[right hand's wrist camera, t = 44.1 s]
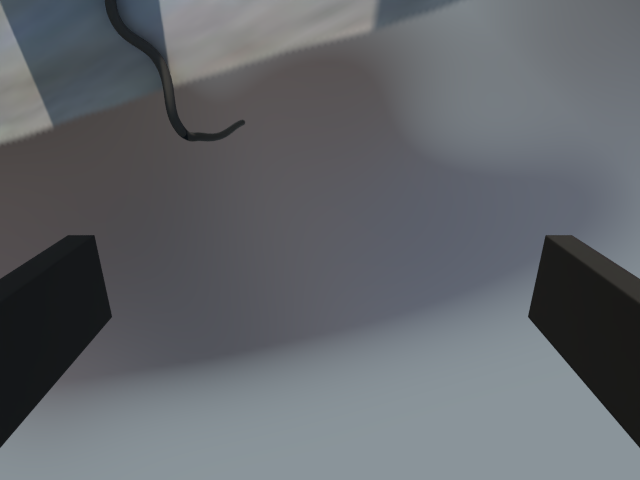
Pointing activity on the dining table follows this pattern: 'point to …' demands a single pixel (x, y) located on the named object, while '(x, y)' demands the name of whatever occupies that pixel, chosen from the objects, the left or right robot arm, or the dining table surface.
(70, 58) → the dining table surface
